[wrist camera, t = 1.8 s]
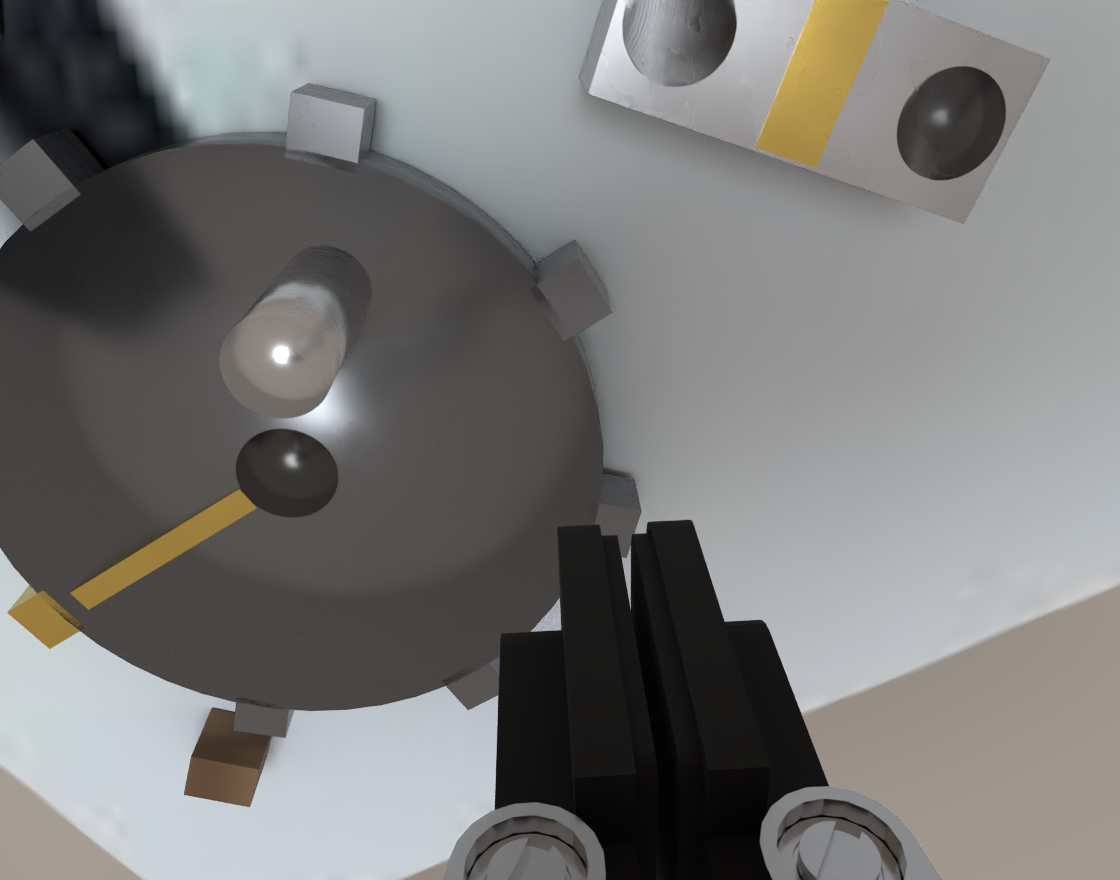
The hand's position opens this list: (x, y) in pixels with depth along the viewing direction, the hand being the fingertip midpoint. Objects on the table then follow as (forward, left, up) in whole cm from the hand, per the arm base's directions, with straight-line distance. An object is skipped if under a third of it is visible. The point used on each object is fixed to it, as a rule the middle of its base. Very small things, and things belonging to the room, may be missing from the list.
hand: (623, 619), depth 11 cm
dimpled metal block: (-4, -7, -17) cm, 19 cm away
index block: (+6, +22, -17) cm, 28 cm away
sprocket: (+6, +8, -17) cm, 20 cm away
